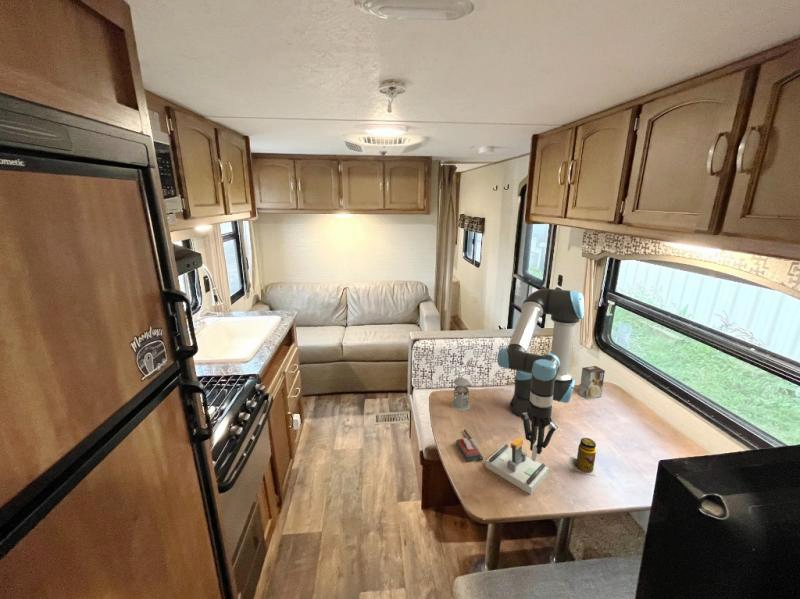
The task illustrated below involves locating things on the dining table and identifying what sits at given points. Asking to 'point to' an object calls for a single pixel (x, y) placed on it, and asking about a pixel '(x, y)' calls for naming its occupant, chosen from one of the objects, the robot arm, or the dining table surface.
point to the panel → (517, 469)
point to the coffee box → (591, 382)
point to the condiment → (584, 457)
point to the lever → (517, 450)
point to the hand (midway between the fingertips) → (534, 459)
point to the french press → (461, 400)
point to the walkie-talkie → (469, 448)
